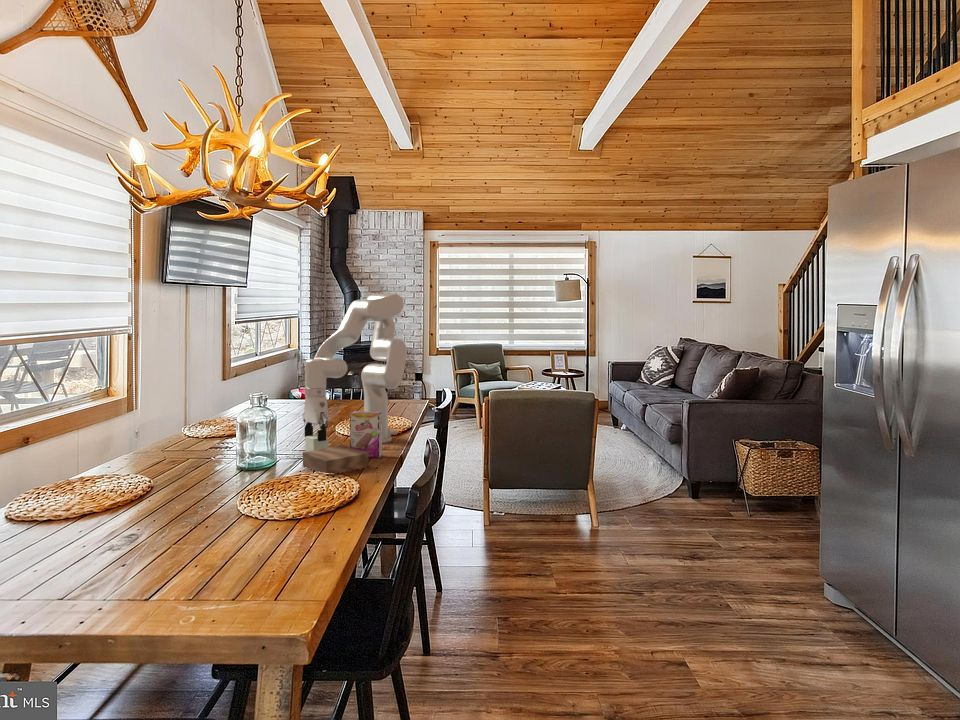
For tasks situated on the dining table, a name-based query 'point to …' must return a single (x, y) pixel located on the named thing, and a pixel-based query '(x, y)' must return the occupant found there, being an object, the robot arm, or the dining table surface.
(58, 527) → the dining table surface
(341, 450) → the block
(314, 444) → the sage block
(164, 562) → the dining table surface
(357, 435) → the candy bar box
